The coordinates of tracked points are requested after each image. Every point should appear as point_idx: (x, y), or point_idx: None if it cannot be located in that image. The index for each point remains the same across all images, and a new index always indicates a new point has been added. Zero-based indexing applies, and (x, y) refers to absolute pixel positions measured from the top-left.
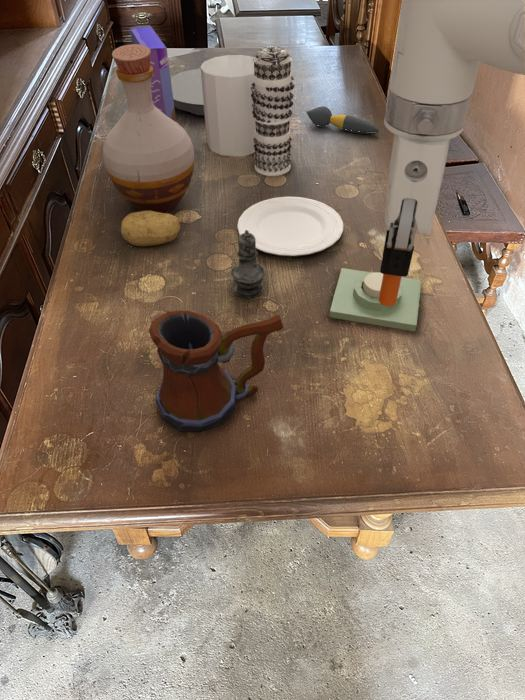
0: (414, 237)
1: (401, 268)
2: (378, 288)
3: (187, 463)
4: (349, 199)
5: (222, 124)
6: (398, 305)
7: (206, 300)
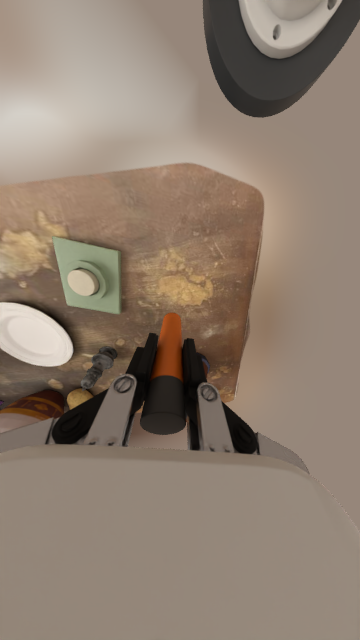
0: (226, 425)
1: (201, 360)
2: (91, 285)
3: (222, 364)
4: None
5: None
6: (97, 264)
7: (124, 369)
